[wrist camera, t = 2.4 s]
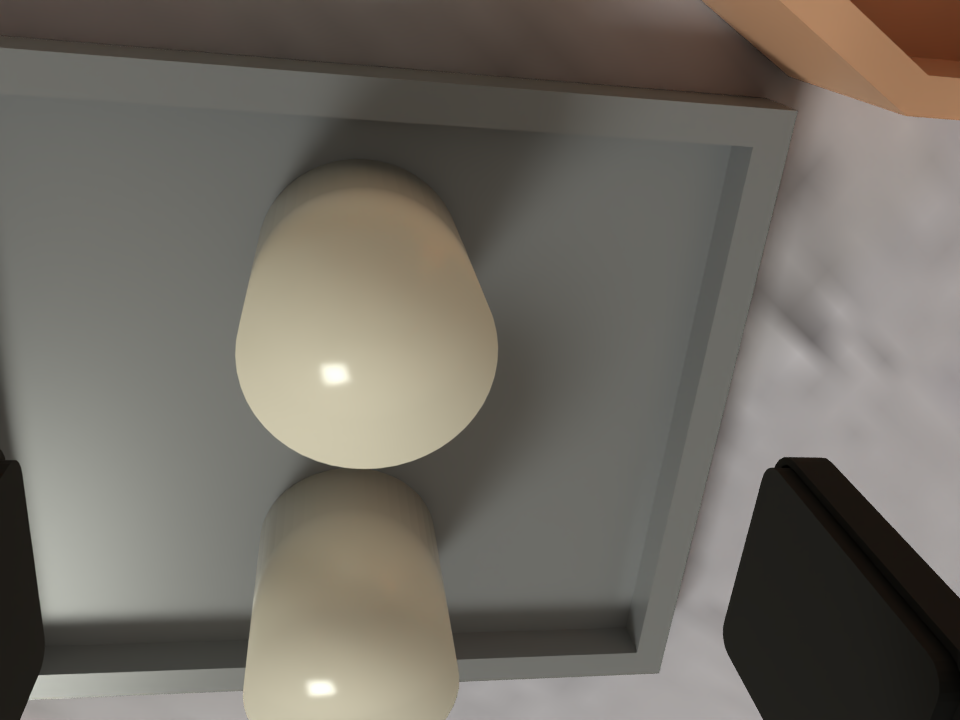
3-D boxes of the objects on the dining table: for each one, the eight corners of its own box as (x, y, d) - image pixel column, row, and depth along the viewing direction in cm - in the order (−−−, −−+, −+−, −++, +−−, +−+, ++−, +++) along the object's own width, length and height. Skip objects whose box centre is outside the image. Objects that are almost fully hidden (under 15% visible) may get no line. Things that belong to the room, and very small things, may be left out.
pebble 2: (259, 467, 21) (241, 610, 17) (440, 467, 22) (468, 605, 18) (260, 610, 23) (244, 772, 19) (427, 605, 24) (450, 760, 20)
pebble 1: (256, 152, 18) (232, 226, 14) (469, 165, 19) (511, 240, 14) (257, 347, 20) (237, 469, 16) (451, 352, 21) (484, 469, 16)
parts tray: (-106, 26, 17) (-145, 36, 15) (766, 98, 20) (797, 111, 18) (4, 657, 23) (-16, 702, 22) (642, 635, 26) (659, 673, 25)
